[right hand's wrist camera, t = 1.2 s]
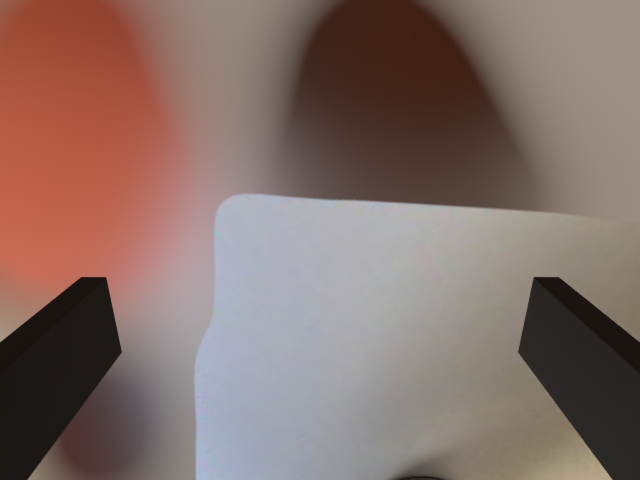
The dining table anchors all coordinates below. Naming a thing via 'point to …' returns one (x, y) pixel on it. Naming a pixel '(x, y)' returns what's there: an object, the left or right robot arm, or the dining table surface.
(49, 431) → the right robot arm
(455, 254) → the dining table surface
